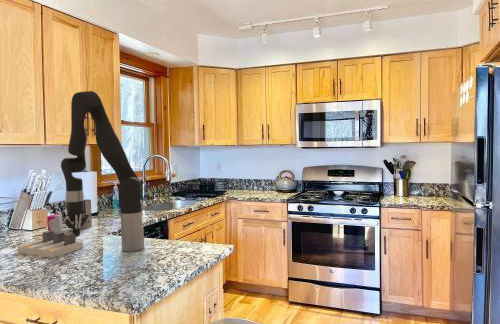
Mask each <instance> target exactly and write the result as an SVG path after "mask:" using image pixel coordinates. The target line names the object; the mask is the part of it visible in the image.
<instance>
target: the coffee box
mask: <svg viewBox="0 0 500 324" xmlns="http://www.w3.org/2000/svg"><path fill="white" fill-rule="evenodd" d="M83 211H84V214H86V215H88V217H87V219H86V221H85V223H84V225H83V226H81V227H80V229H89V228H91V227H93V223H92V222H93V221H92V220H93V219H92V200H91V199H84V209H83ZM77 225H78V224H77Z"/></svg>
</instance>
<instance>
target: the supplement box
mask: <svg viewBox="0 0 500 324" xmlns="http://www.w3.org/2000/svg"><path fill="white" fill-rule="evenodd" d="M63 225H64V224H63V214H62V213H61V214H59V213H58V214H50V215H48V216H47V231H54V233H57V232H64V229H63Z"/></svg>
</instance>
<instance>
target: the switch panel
mask: <svg viewBox="0 0 500 324" xmlns="http://www.w3.org/2000/svg"><path fill="white" fill-rule="evenodd" d="M83 244H84V242H83V241H81V240H79V241H76V242H75V243H72V244H69V245H66V246H64V241H63V242H60V243H57V244H54V243H53V240H52V241H48V242H45V243H43V238H42V239H39V240H36V241H32V242H28V243H24V244H20V245H18V246H17V253H18V254H24V255H31V256H37V257H44V258H50V259H54V258H57V257H59V256H63V255H66V254H68V253H72V252H74V251H78V250H80V249H83V248H84V247H83V246H84V245H83Z"/></svg>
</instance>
